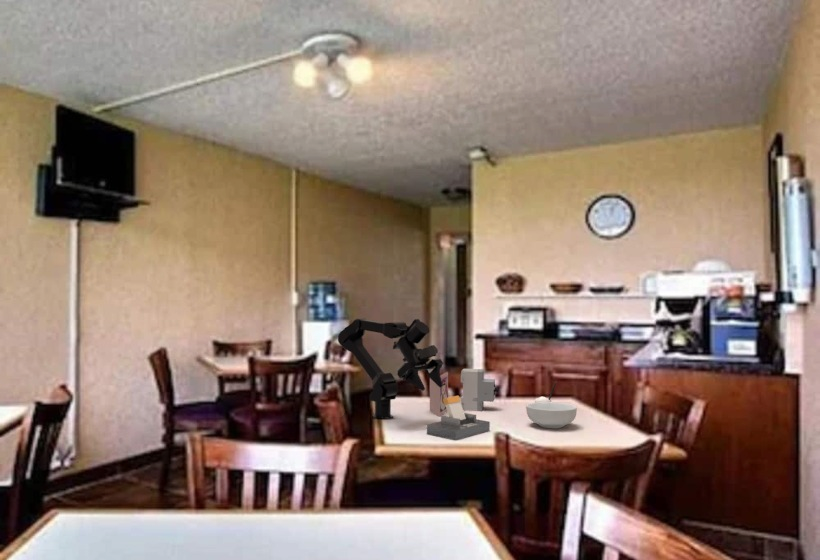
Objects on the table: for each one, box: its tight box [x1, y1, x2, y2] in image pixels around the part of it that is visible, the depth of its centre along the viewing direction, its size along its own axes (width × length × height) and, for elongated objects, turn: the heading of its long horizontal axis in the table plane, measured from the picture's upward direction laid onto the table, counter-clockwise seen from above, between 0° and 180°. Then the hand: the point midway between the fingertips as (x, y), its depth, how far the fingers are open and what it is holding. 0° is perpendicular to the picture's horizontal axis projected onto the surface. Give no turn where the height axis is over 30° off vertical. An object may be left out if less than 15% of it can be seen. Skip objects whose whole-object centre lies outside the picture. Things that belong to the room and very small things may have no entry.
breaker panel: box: [426, 412, 491, 441], centre depth 222 cm, size 12×18×6 cm, turn 138°
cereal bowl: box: [525, 401, 577, 430], centre depth 232 cm, size 17×17×7 cm
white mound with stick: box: [534, 381, 557, 403], centre depth 253 cm, size 10×6×12 cm, turn 58°
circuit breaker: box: [460, 368, 500, 412], centre depth 261 cm, size 8×14×15 cm, turn 78°
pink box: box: [429, 371, 449, 418], centre depth 252 cm, size 11×7×15 cm, turn 161°
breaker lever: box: [443, 395, 466, 422], centre depth 223 cm, size 2×6×8 cm, turn 137°
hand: (432, 388), depth 229 cm, fingers open, 9 cm apart
